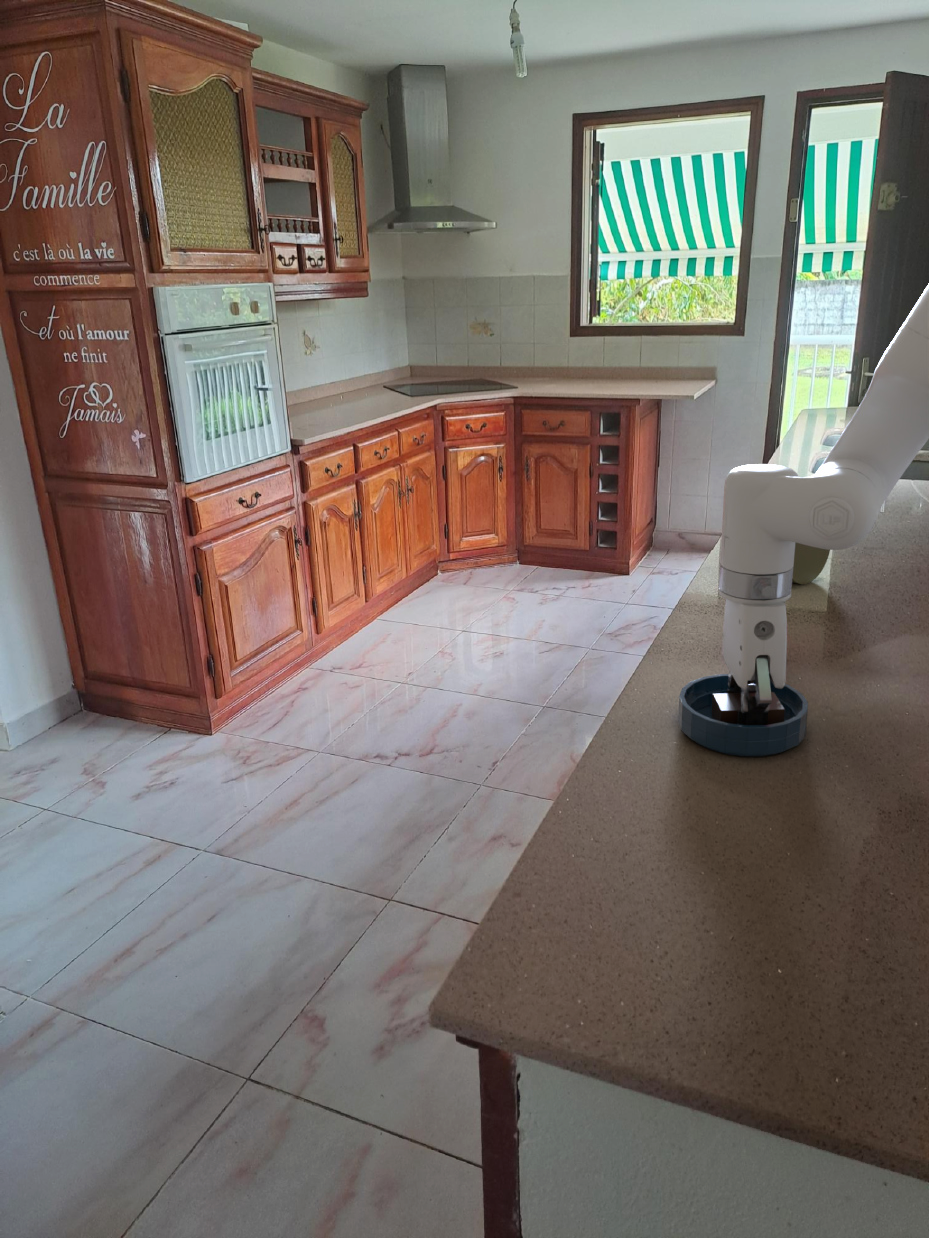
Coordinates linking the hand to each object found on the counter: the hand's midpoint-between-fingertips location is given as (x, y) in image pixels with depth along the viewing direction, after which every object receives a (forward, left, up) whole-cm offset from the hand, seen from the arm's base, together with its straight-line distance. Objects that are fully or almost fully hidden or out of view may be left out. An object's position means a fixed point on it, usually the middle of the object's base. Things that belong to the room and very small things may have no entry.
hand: (745, 729), depth 102 cm
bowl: (0, -2, -1) cm, 2 cm away
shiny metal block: (0, 0, 0) cm, 0 cm away
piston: (-20, -59, -1) cm, 62 cm away
